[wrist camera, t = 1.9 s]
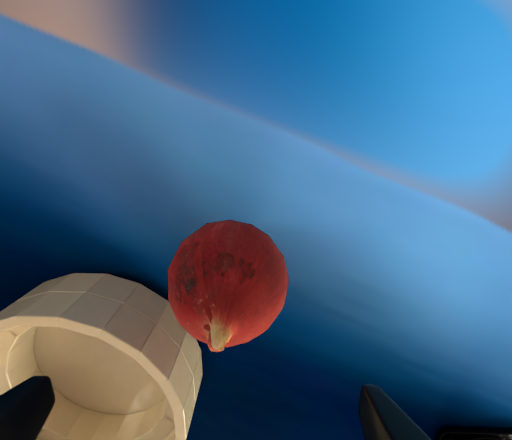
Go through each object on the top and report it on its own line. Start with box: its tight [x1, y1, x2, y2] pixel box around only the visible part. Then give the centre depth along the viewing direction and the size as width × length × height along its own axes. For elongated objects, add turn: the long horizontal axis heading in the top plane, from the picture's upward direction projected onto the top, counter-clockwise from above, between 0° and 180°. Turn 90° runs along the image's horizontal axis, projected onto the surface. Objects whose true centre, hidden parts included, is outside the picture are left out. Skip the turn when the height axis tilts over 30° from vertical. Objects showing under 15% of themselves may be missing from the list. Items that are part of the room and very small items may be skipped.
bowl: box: [0, 273, 203, 440], centre depth 18 cm, size 13×13×5 cm
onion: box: [168, 220, 289, 352], centre depth 14 cm, size 6×6×8 cm
